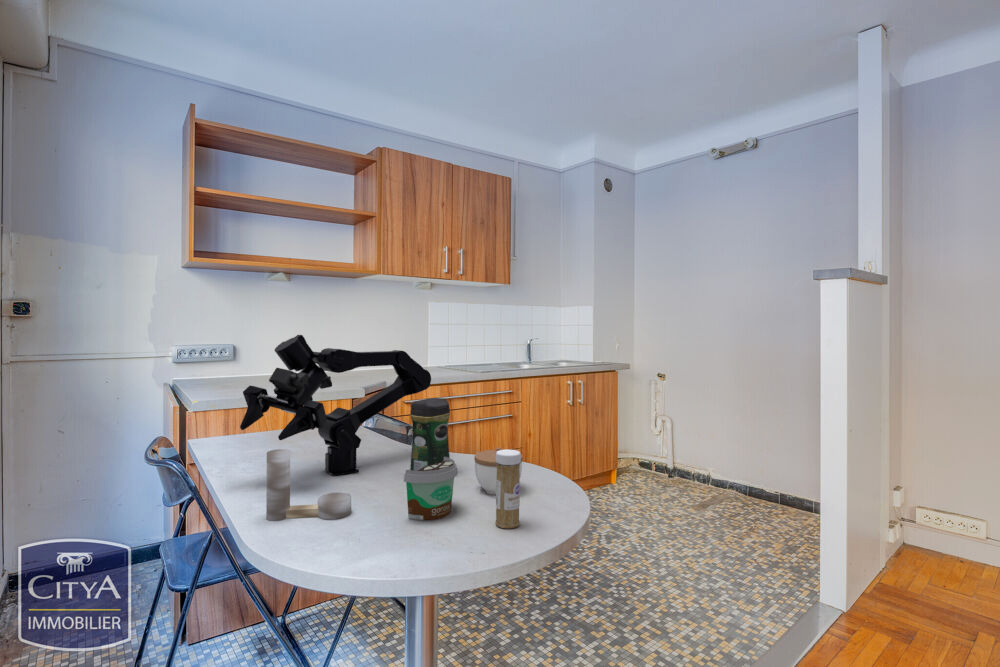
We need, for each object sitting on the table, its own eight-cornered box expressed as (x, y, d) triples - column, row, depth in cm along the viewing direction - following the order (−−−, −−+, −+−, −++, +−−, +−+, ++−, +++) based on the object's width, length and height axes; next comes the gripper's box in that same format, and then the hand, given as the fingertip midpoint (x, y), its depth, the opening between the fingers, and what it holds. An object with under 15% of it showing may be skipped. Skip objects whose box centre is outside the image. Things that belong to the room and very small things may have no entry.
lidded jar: (530, 494, 110) (531, 451, 110) (484, 500, 106) (484, 455, 106) (510, 480, 120) (510, 441, 120) (467, 485, 116) (467, 444, 116)
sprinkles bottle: (516, 530, 91) (517, 455, 91) (491, 527, 92) (492, 453, 92) (522, 521, 95) (523, 449, 95) (499, 518, 96) (500, 447, 96)
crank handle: (352, 507, 100) (353, 445, 99) (349, 518, 94) (350, 453, 94) (270, 511, 97) (271, 448, 97) (262, 523, 91) (262, 456, 91)
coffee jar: (431, 467, 131) (431, 394, 131) (455, 472, 126) (455, 397, 126) (403, 476, 123) (404, 399, 123) (428, 482, 118) (429, 402, 118)
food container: (429, 532, 90) (429, 475, 89) (403, 524, 93) (403, 470, 93) (470, 511, 100) (470, 460, 100) (445, 505, 103) (445, 456, 103)
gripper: (260, 350, 115) (210, 395, 103) (334, 367, 111) (291, 415, 99) (272, 387, 122) (226, 433, 109) (342, 404, 118) (302, 454, 106)
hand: (260, 433), depth 106 cm, fingers open, 9 cm apart
